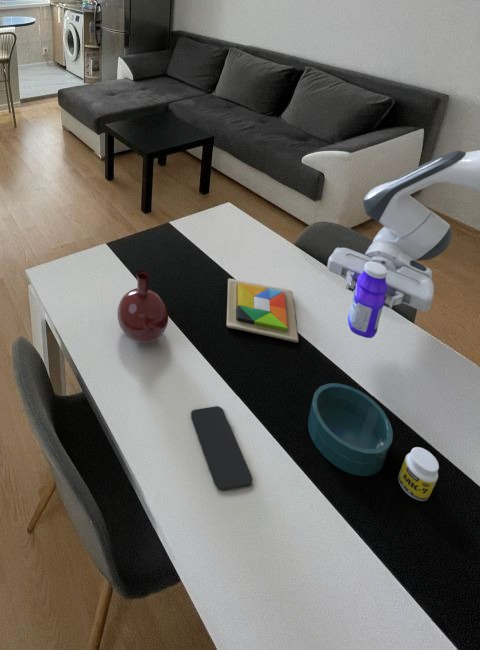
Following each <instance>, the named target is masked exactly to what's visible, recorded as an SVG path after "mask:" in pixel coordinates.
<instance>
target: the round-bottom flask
mask: <svg viewBox="0 0 480 650" xmlns="http://www.w3.org/2000/svg"><path fill="white" fill-rule="evenodd" d="M149 276H150V273H149V272H148V271H147V270H142V269H141V270H138V271H137V272H136V279H137V281H136V282H137V283H136V284H137V287H135V288H132V289H130V290H129V291H127V292H126V293H125V294H123V296H122V297H121V299H120V300H119V303H118V306H117V312H116V313H117V321H118V324H119V327H120V329H121V331H122V332H123V334H124V335H125V336H126V337H127V338H129V339H130V340H131V341H133V342H136V343H138V344H150V343H154V342H155V341H157V340H159V339H160V338H162V337H161V336H163V335H164V333H165V331H166V330H167V326H168V324H169V311H168V307H167V305H166V302H165V301H164V299H163V298H162V297H161V296H160V294H159V293H157V292H156V291H154V290H152V289H150V288H149Z"/></svg>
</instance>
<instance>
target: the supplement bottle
mask: <svg viewBox="0 0 480 650" xmlns="http://www.w3.org/2000/svg"><path fill="white" fill-rule="evenodd" d="M439 469H440V465H439V461H438V460H437V458H436V457H435V456H434V454H432V453H431V452H430V451H429V450H427V449H425V448H424V447H419V446H416V447H415V446H414V447H413V448H412V449H411V450H410V452H408V453H407V454H406V455H405V457H404V460H403V462H402V465H401V468H400V470H399V472H398V476H397V478H398V479H397V480H398V483H399V485H400V487H401V489H402V490H403V491H404V492H405V493H406V494H407V495H408V496H409V497H411V498H412V499H415V500H417V501H420V502H424V501H425V502H426V501H427V500H428V499H429V498H430V497H431V494H432V492H433V490H434V488H435V486H436V484H437V481H438V479H439Z"/></svg>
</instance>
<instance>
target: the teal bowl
mask: <svg viewBox="0 0 480 650" xmlns="http://www.w3.org/2000/svg"><path fill="white" fill-rule="evenodd" d="M307 428H308V433H309V437H310V438H311V440H312V443H313V444H314V445H315V448H316V449H317V450H318V452H319V453H320V454H321V455H322V456H323V457H324V458H325V459H326V460H327V461H328V462H329V463H331V464H332V465H333V466H335V467H336V468H338V469H339V470H341V471H342V472H346V473H347V474H351V475H353V476H359V477H369V476H370V477H371V476H373V475H374V476H375V475H376V474H377V473H379V472H380V471H381V470H382V469H383V467H384V465H385V464H386V461H387V458H388V455H389V453H390V449H391V446H392V444H393V438H394V437H393V436H394V431H393V428H392V424H391V421H390V420H389V418H388V416H387V415H386V413H385V411H384V409H382V408H381V406H379V405H378V404H377V402H376V401H375V400H374V399H373V398H371V397H370V396H368V395H367V394H366V393H364V392H363V391H361V390H359V389H356V388H354V387H352V386H350V385H347V384H342V383H334V382H333V383H326V384H324V385H320V386H319V387H318V388H317V389H316V391H314V393H313V397H312V400H311V405H310V409H309V415H308V418H307Z"/></svg>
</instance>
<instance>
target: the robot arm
mask: <svg viewBox="0 0 480 650" xmlns="http://www.w3.org/2000/svg"><path fill="white" fill-rule="evenodd" d="M438 183H443V184H444V183H445V184H450V185H454V186H455V185H456V186H459V187H462V188H465V189H468V190H471V191H474V192H476V193H478V194H480V149H478V150H474V151H462V150H454V151H450V152H447V153H444V154H442V155H440V156H438V157H436V158H434V159H431V160H429V161H428V162H425V163H424V164H421V165H419V166H417V167H416V168H413V169H412V170H410V171H408V172H406V173H404V174H402V175H400V176H398V177H396V178H394V179H392V180H389V181H387V182H384V183H382V184H380V185H377V186H375V187H373V188H372V189H370V190H369V191H368V192H367V193H366V195H364V198H363V199H362V201H363V204H362V205H363V209H364V212H365V214H366V216H368V217H369V218H370V219H372V220H374V221H375V222H376V223H379V224H380V225H382V226H383V227H382V228H381V229H380V230H379V231H378V232H377V234H376V235H375V236H374V238H373V240H372V243H371V244H370V245H369V246H368V248H367V250H366V251H365V253H364V254H363V253H361V252H358V251H355V250H353V249H351V248H348V247H335V249H334V250H333V251H332V254H331V255H330V256H329V257H328V260H327V265H326V267H327V269H328V271H329V272H331V273H333V274H336V275H338V276H339V277H342V278H343V279H344V280H345V283H346V287H345V289H346V290H347V291H350V292H352V293H354V292H355V286H356V283H357V277H358V276H359V275H360V274H362V273H363V270H364V267H365V264H366V263H367V262H377V263H380V264H382V265H383V266H384V267H385V268H386V269H387V275H386V284H387V286H388V289H387V291H386V292H385V301H384V305H383V307H385V308H388V309H390V310H392V309H393V307H394V306H397V305H401V304H404V305H406V306H409V307H411V308H414V309H416V310H417V311H420V312H421V313H423V312H424V313H425V312H429V311H430V309H431V306H432V303H433V299H434V294H435V283H434V282H433V280H432V279H433V270H431V269H430V268H429V267H428V266H425V265H423V264H422V263H420V261H430V260H432V259H434V258H436V257H438V256H440V255H441V254H442V253H444V252H445V250H447V248H448V247H449V246H450V244H451V242H452V240H453V229H452V225H451V224H449V223H448V222H447V221H446V220H445V219H443V217H441V216H439V215H438V214H437V213H435V211H433V210H430V209H429V208H428V207H427V206H426V205H424V204H423V203H422V202H420V201H419V200H417V199H415V198H414V197H413V196H411V195H412V194H414V193H416V192H419V191H420V190H423V189H424V188H428V187H429V186H431V185H433V184H438Z"/></svg>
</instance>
